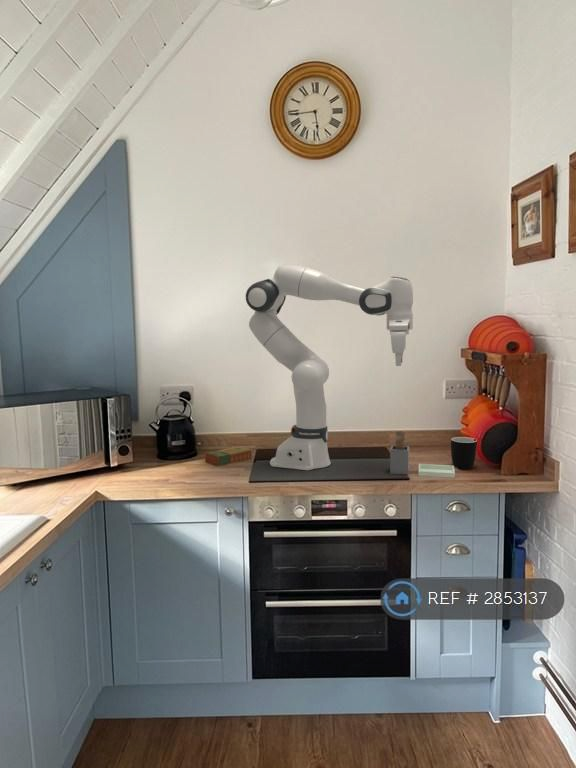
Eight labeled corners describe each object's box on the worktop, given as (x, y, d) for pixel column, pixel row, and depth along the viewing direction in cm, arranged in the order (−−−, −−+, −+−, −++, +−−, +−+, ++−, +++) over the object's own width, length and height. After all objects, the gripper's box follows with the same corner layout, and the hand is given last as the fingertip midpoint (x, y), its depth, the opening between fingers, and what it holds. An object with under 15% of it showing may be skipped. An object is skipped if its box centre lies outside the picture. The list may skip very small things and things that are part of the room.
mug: (480, 470, 213) (481, 442, 211) (455, 470, 212) (456, 442, 211) (466, 461, 225) (467, 434, 223) (443, 462, 224) (444, 435, 222)
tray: (418, 477, 204) (418, 471, 204) (418, 469, 214) (418, 463, 214) (454, 479, 202) (455, 473, 201) (453, 471, 211) (453, 465, 211)
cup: (389, 475, 207) (390, 449, 206) (391, 470, 213) (391, 445, 212) (408, 476, 206) (408, 450, 205) (408, 471, 212) (409, 446, 211)
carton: (251, 459, 232) (251, 448, 231) (218, 467, 221) (217, 456, 220) (238, 455, 238) (238, 445, 237) (205, 463, 227) (204, 451, 226)
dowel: (394, 472, 208) (395, 432, 207) (395, 470, 211) (396, 431, 210) (403, 472, 208) (404, 433, 206) (404, 470, 211) (404, 431, 209)
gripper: (391, 323, 217) (391, 361, 219) (388, 325, 197) (388, 367, 199) (409, 323, 216) (409, 361, 217) (407, 325, 196) (407, 367, 198)
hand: (399, 364), depth 208 cm, fingers open, 8 cm apart
